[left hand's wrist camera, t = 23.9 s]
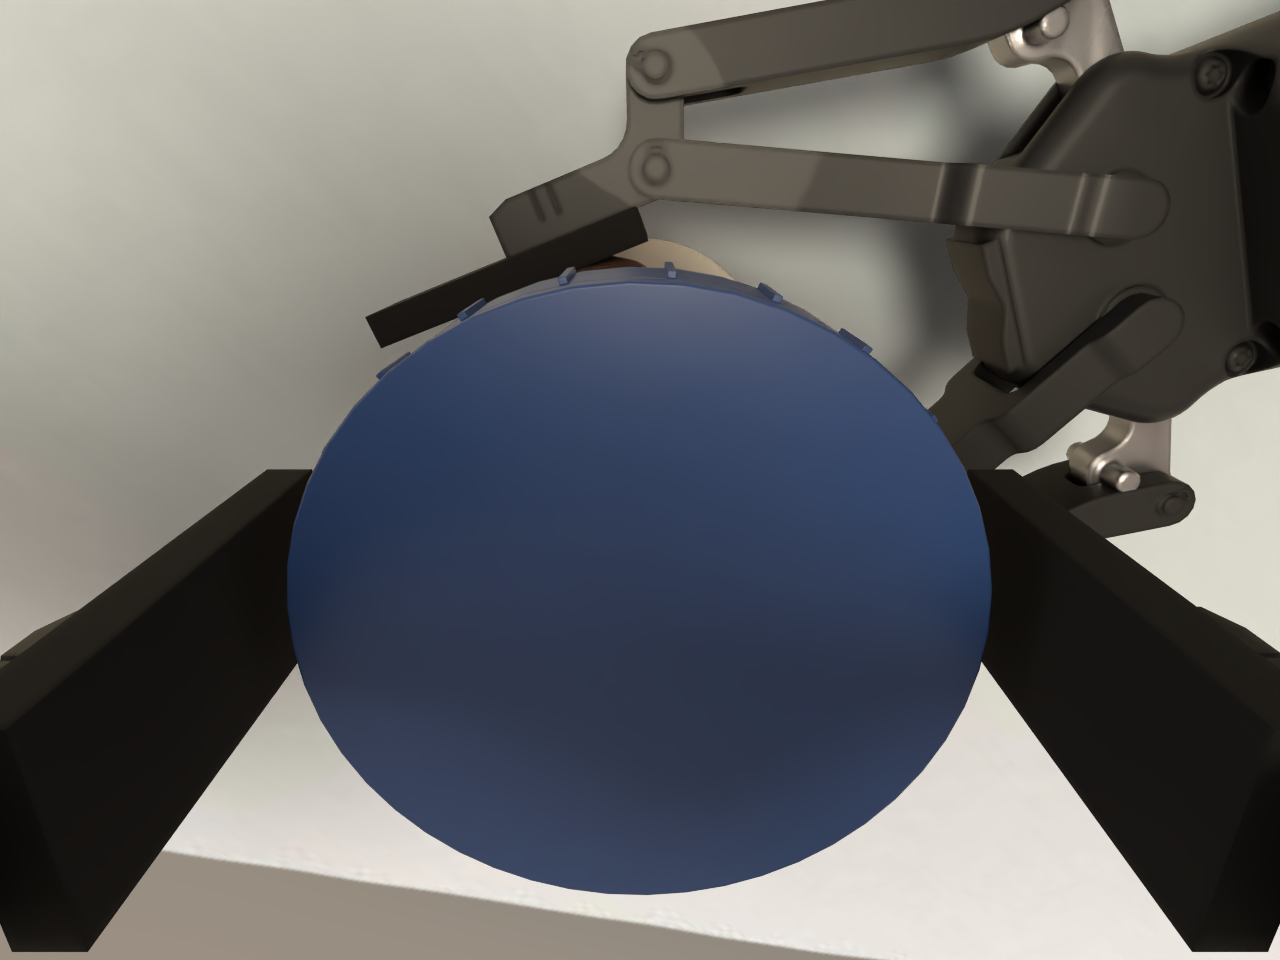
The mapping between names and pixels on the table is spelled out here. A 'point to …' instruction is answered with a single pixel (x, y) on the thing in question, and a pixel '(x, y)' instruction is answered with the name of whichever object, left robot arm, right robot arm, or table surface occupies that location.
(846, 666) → the lid
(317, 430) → the table surface
